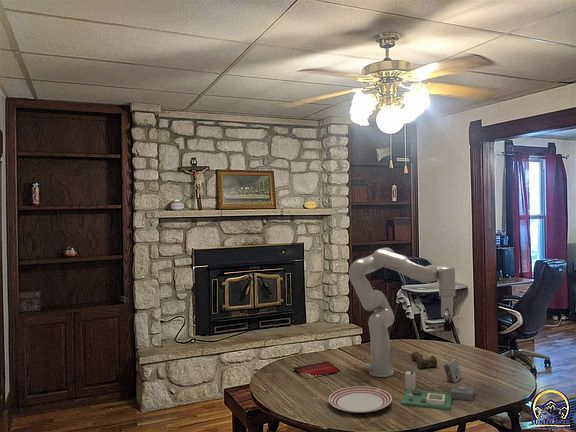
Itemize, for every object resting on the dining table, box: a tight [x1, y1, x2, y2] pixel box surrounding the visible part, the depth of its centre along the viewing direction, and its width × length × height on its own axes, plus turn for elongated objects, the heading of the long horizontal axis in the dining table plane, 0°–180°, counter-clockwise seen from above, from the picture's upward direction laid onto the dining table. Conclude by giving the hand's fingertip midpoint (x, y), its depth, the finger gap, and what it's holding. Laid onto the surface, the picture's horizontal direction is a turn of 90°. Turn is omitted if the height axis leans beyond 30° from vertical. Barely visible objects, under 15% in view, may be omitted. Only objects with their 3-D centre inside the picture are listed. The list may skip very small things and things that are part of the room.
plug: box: [404, 369, 417, 390], centre depth 230 cm, size 4×4×8 cm
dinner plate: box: [328, 385, 393, 414], centre depth 213 cm, size 28×27×3 cm
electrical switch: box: [443, 358, 463, 384], centre depth 238 cm, size 9×5×9 cm, turn 141°
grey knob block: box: [450, 384, 474, 402], centre depth 217 cm, size 9×9×4 cm
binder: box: [292, 361, 341, 376], centre depth 259 cm, size 16×2×21 cm
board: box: [400, 389, 453, 411], centre depth 214 cm, size 20×16×3 cm
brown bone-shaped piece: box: [410, 351, 438, 370], centre depth 261 cm, size 6×10×20 cm
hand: (448, 328), depth 232 cm, fingers open, 9 cm apart
